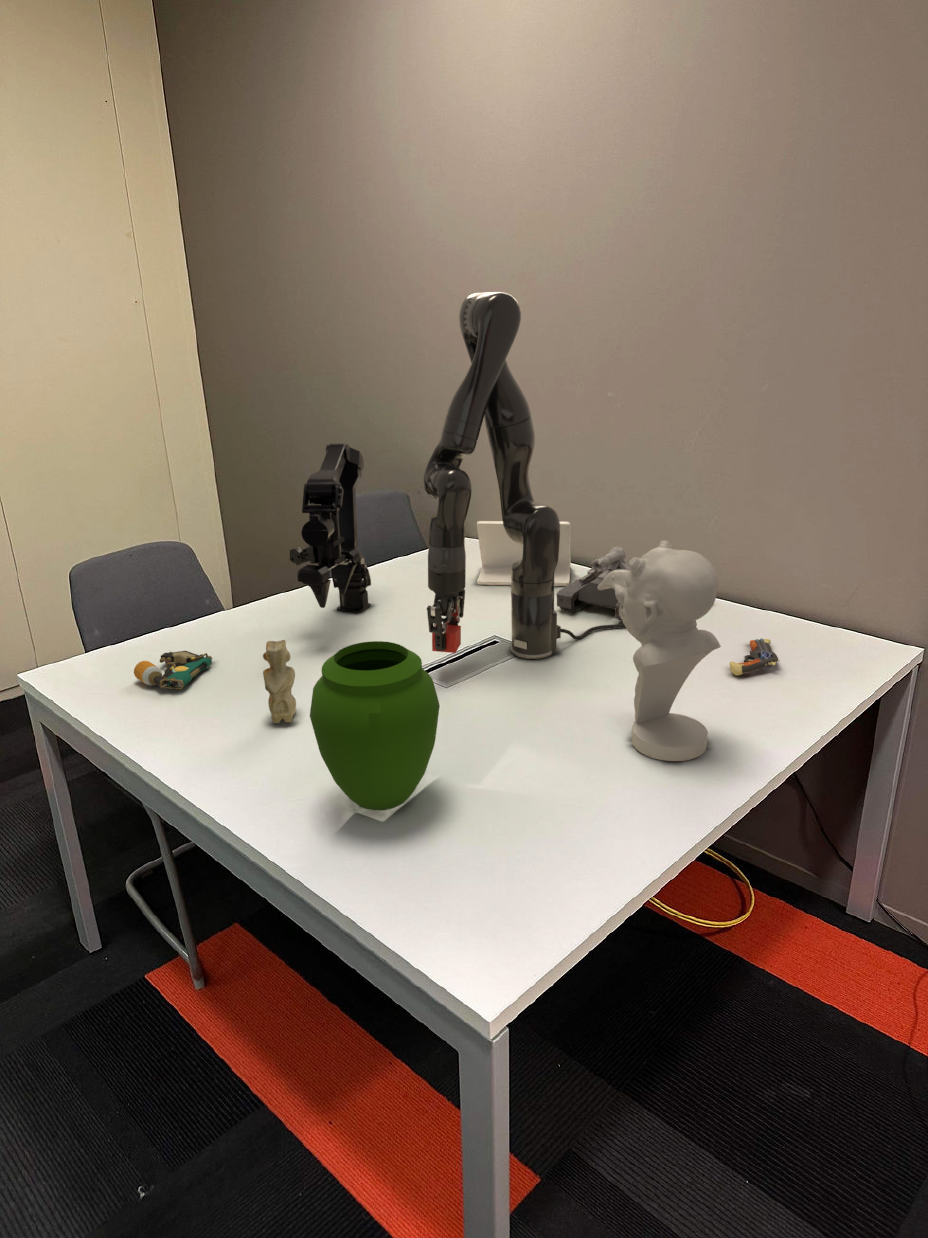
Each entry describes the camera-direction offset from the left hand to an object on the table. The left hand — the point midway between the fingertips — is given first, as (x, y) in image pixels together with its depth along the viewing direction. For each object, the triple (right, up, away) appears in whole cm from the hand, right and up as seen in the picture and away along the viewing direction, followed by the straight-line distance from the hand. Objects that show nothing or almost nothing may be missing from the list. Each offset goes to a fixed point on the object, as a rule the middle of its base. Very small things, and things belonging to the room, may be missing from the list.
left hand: (332, 600), depth 194 cm
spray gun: (-31, -16, -13) cm, 37 cm away
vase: (+17, -32, -60) cm, 70 cm away
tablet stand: (+47, +8, +45) cm, 66 cm away
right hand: (+26, -9, -19) cm, 34 cm away
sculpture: (-4, -23, -33) cm, 40 cm away
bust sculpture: (+62, -25, -44) cm, 80 cm away
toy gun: (+91, -13, -14) cm, 93 cm away
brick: (+26, -10, -18) cm, 34 cm away
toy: (+68, -1, +20) cm, 71 cm away
